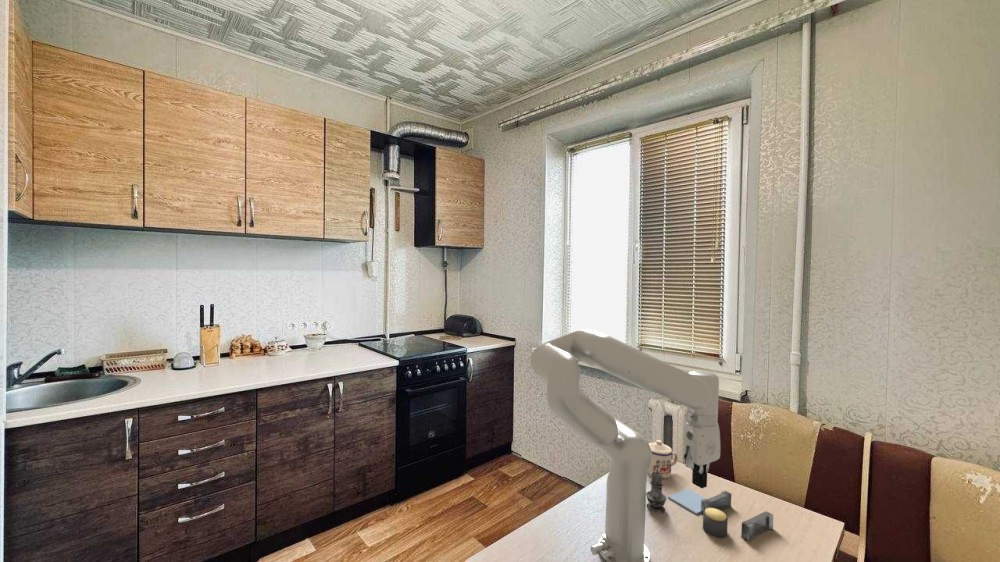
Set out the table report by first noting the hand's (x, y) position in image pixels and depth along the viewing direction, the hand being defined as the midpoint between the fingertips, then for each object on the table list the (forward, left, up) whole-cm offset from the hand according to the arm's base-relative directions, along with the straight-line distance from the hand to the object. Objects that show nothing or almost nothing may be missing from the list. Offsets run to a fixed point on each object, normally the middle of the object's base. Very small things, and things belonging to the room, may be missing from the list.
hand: (699, 485), depth 107 cm
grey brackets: (+18, 0, -15) cm, 23 cm away
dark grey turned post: (+2, +15, -15) cm, 21 cm away
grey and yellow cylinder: (+8, 0, -15) cm, 17 cm away
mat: (+15, +12, -15) cm, 24 cm away
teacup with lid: (+22, +29, -15) cm, 39 cm away
